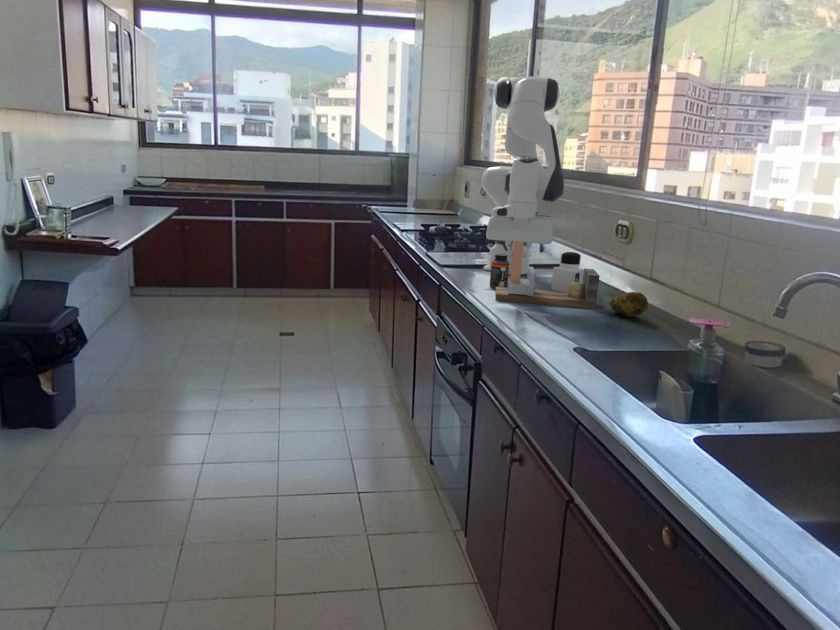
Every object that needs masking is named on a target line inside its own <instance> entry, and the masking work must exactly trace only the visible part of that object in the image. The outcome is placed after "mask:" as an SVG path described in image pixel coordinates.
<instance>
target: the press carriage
mask: <svg viewBox="0 0 840 630" xmlns="http://www.w3.org/2000/svg"><path fill="white" fill-rule="evenodd" d="M523 245H524V242H513V253H512V254H513V255H512V262H511V273H510V274H509V275H510V276H509V277H508V283H507V291H508V293H509V294H522V295H528V296H533V292H534V290H535V281H536V271H535V269H534V266H530V265H529V266H528V272H527V274H526V278H521V275H522V274H521V265H522V255H523Z"/></svg>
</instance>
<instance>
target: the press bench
mask: <svg viewBox="0 0 840 630" xmlns="http://www.w3.org/2000/svg"><path fill="white" fill-rule="evenodd" d="M583 269H584V274H583V282H582V284H584V290H583V298H572V297H569V296H568V293H569V292H560V291H555V290H545V289H544V290H542V289H534V292H533V296H528V295H522V294H509V293H508V291H507V287H496V289H495V292H494V293H495V301H496V300H498V302H500V301H501V302H510V303H511V302H512V303H523V304H532V305H533V304H534V305H544V306H545V305H546V306H547V305H548V306H558V307H571V308H585V309H595V310H596V309H597V308H596V306H597V301H598V291H599V285H600V274H598V273H597V271H596V270H595V269H593V268H583Z"/></svg>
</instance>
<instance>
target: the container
mask: <svg viewBox="0 0 840 630" xmlns="http://www.w3.org/2000/svg"><path fill="white" fill-rule="evenodd" d="M581 257H582V256H581V254H580V253H578V252H574V251H563V252H561V253H560V258H559V266H554V267H553V268H552V278H551V285H550V287H551V288H550V289H551V290H550V291H559V292H569V284H570V283H572V282H575V283H582V282H583V274H584V269H585V268H580V265H581Z"/></svg>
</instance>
